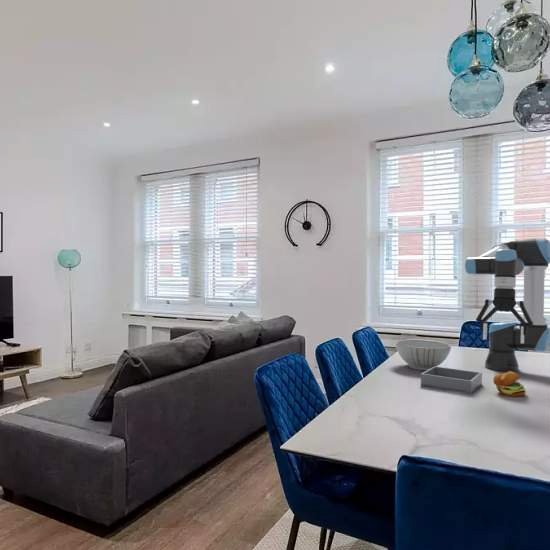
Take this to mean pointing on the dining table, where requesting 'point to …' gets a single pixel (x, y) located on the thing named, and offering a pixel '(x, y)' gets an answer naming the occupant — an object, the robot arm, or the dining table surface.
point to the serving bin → (451, 379)
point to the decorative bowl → (423, 353)
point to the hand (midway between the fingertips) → (503, 341)
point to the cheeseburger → (509, 384)
